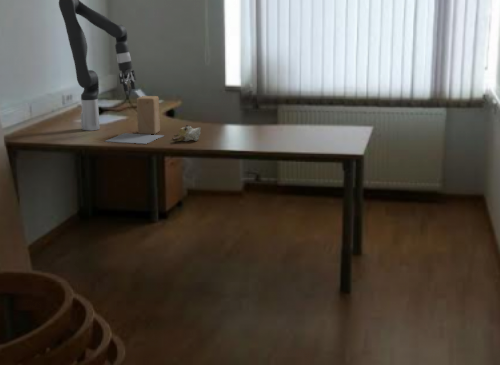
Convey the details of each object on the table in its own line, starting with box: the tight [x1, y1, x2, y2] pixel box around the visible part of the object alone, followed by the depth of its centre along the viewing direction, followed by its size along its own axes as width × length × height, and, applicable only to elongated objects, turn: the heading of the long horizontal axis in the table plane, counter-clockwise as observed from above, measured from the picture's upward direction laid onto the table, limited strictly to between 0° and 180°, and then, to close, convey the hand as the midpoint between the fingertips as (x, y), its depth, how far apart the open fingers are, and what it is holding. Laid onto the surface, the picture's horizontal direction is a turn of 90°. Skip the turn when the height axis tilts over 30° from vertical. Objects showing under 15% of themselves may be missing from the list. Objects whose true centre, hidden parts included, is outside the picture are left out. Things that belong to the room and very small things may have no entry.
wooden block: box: [136, 95, 161, 135], centre depth 431 cm, size 10×10×20 cm
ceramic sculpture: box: [171, 125, 202, 142], centre depth 411 cm, size 11×9×15 cm
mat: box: [104, 132, 165, 145], centre depth 418 cm, size 24×22×1 cm
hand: (129, 90), depth 438 cm, fingers open, 8 cm apart
